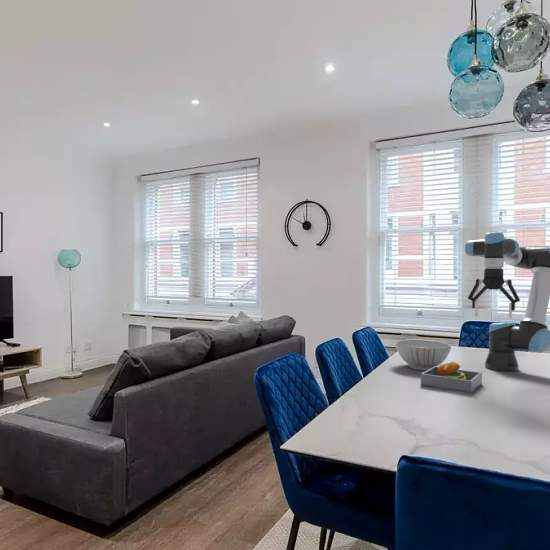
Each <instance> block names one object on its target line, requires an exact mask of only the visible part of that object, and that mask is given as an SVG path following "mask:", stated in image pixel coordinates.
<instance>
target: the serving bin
mask: <svg viewBox="0 0 550 550" xmlns="http://www.w3.org/2000/svg"><path fill="white" fill-rule="evenodd" d="M438 367H439V366H434V367H432V368H431V369H429V370H424V371H423V372H421V373H420V387H421V386H422V387H427V388H433V389H438V390H446V391H453V392H459V393H464V394H470V395H471V394H473V393H474V392H475V391H476V390H478V389H479V387H480V386H482V385H483V383H482V382H483V380H482V379H483V372H479V371H471V370H464V369H458V370H457V371H461V373H464V376H465V377H466V379H467V380H463V379H456V378H449V377H442V376H440V374H438Z"/></svg>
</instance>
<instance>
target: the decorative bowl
mask: <svg viewBox="0 0 550 550" xmlns="http://www.w3.org/2000/svg"><path fill="white" fill-rule="evenodd" d="M395 349H396V350H397V353H398V355H399V356H400V358H401V359H402V360H403V361H404V362H405V363H407V365H409V368H411V369H414V370H421V371H427V370H429V369H431V368H432V367H434V366H436V367H439V366H440V365H442V364H443V363H444V362H445V360H446V359H447V358H448V356H450V355H449V354H450V353H451V350H452V344H450V343H447V342H444V341H438V340H429V339H401V340H399V339H398V340H397V341H395Z"/></svg>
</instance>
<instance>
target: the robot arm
mask: <svg viewBox="0 0 550 550" xmlns="http://www.w3.org/2000/svg"><path fill="white" fill-rule="evenodd" d="M464 251H465V254H466V255H467V256H468V257H480V258H481V257H482V258H484V260H483V261H484V263H483V264H484V265H483V267H484V270H483V279H480V278H476V279H475V284H474V286H473V288H472V290H471V292H469V295H468V297H467V299H468V300H470V301H471V303H472V304H471V308H472V309H474V317H478V315H479V301H477V300H478V299H479V298H480V297H481V296H482V295H484V293H485V292H486V291H487V290H489V291H490V290H491V291H492V290H494V291H496V290H497V291H498V290H500V291H501V292H502V294H503V295H504V296H505V297H506V298H507V300H509V301H510V302H509V303H508V305H509V306H508V318H509V319H513V311H515V310H516V303H518V302H520V301H521V299H520V297H519V295H518V293H517V292H516V290H515V287H514V285H513V282H512V279H506V280H504V269H503V268H504V266H505V265H504V264H506V265H508V266H512V267H516V268H519V269H524V270H530V271H531V273H532V274H533V275H532V281H531V285H530V290H529V294H528V299H527V304H526V309H525V313H524V318H523V319H521V320H520V321H519V324H518V325H516V323H515V321H513V322H512V321H511V322H510V321H509V322H508V321H507V322H493V323H491V324H489V329H488V339H489V340H488V354H487V356H486V358H485V361H484V368H486V369H489V370H494V371H501V372H517V371H519V368H520V366H519V363H518V359H517V357H516V354H515V353H516V350H517V351H524V352H530V353H536V354H537V353H538V354H540V353H541V354H542V353H544V352H546V350H548V348H549V346H550V329H548V325H547V324H546V318H547V312H548V308H549V307H548V306H549V301H550V245H537V246H522V247H521V246H520V245H519V242H518V241H517V240H516V239H513V238H505V234H504V233H503V232H500V231H499V232H497V231H496V232H487V233H485V235H484V239H476V240H475V239H474V240H468V241H466V243H465V245H464ZM482 283H483V284H484V286H483V287H482V288H481V290H479V291H478V293H477V294H476V292H477V290H478V289H479V287H480V285H481V284H482ZM504 284H505V285H506V286H508V288H509V290H510V292H511V294H510V293H509V292H508V291H507V290H506V289H505V287H504V286H503V285H504ZM475 294H476V295H475ZM511 295H513V297H514V298H513V297H512V296H511Z"/></svg>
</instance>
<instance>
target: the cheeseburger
mask: <svg viewBox="0 0 550 550" xmlns="http://www.w3.org/2000/svg"><path fill="white" fill-rule="evenodd" d="M437 367H438V374H440V376H442V377H449V378H456V379H463V380H467V379H466V377H465V376H464V373H461V371H457V370H460V368H461V365H460V364H459V363H457V362H456V361H451V362H447V363H441V364H440V365H438V366H437Z"/></svg>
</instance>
